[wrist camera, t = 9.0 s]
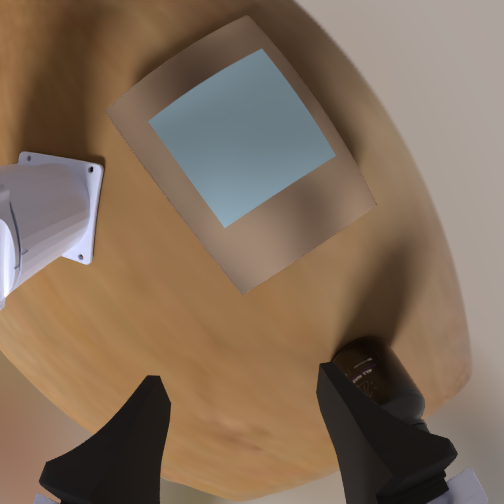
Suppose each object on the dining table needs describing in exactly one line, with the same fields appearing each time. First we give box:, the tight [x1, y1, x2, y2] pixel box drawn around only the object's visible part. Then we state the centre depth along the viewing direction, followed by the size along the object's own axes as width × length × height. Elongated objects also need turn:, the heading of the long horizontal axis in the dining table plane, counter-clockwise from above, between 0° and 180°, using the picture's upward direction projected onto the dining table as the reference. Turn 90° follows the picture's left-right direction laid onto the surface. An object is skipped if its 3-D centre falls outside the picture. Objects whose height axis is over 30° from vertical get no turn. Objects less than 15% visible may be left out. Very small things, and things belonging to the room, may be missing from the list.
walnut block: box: [105, 15, 377, 295], centre depth 16 cm, size 10×14×4 cm
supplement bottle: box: [333, 337, 430, 433], centre depth 19 cm, size 7×7×12 cm
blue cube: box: [148, 49, 336, 228], centre depth 11 cm, size 5×5×5 cm
